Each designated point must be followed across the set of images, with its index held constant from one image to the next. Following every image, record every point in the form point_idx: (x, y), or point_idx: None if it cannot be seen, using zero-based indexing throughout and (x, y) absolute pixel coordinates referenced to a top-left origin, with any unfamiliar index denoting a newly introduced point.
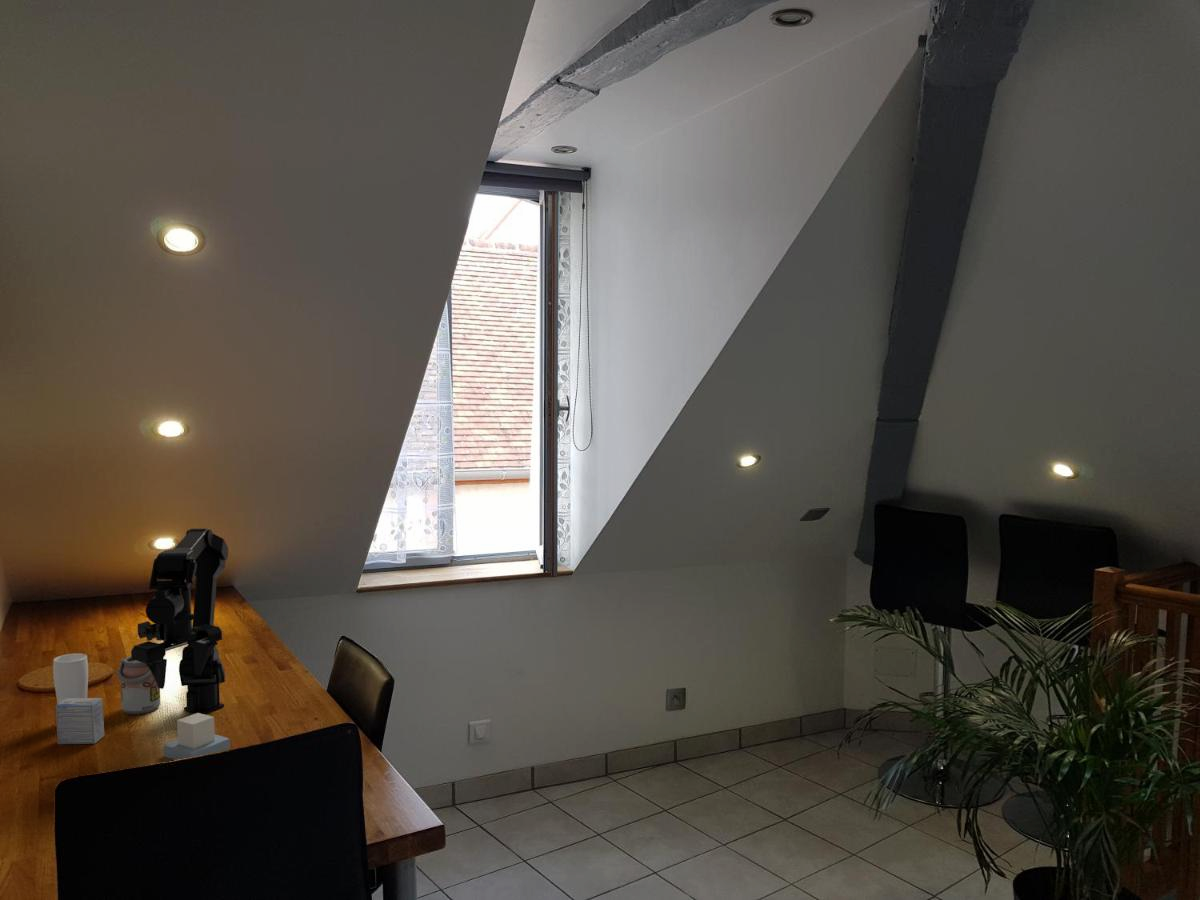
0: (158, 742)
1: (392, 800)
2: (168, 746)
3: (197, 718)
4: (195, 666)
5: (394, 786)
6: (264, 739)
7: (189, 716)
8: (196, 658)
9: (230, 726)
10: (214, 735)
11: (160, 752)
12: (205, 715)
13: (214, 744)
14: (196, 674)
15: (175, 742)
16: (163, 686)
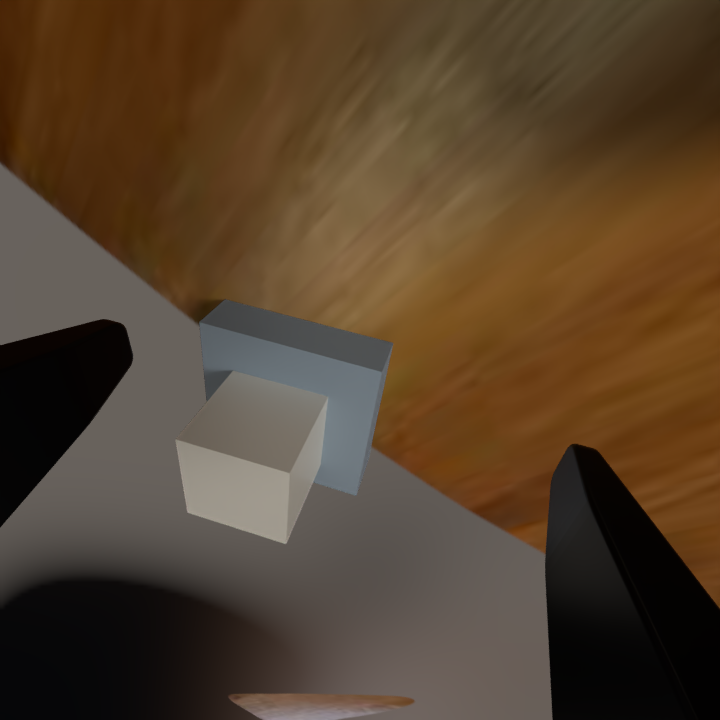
0: (307, 162)
1: (312, 707)
2: (202, 349)
3: (239, 500)
4: (586, 535)
5: (353, 711)
6: (486, 514)
7: (236, 462)
8: (629, 687)
9: (599, 355)
10: (313, 479)
11: (239, 261)
12: (280, 513)
13: None
14: (564, 457)
15: (239, 351)
16: (113, 380)
